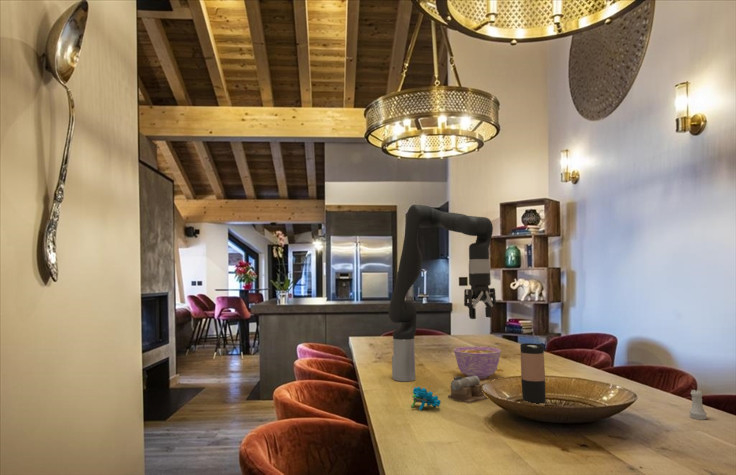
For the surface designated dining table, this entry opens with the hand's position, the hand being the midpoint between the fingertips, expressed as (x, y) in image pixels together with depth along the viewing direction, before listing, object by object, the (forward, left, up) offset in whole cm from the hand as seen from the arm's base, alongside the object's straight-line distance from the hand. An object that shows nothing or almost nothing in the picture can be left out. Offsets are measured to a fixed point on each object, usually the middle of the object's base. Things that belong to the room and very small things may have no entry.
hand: (480, 318), depth 167 cm
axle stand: (-6, -2, -29) cm, 29 cm away
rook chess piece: (+53, +35, -29) cm, 70 cm away
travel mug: (+14, +9, -29) cm, 33 cm away
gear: (-6, -22, -29) cm, 37 cm away
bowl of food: (-28, +29, -29) cm, 50 cm away
